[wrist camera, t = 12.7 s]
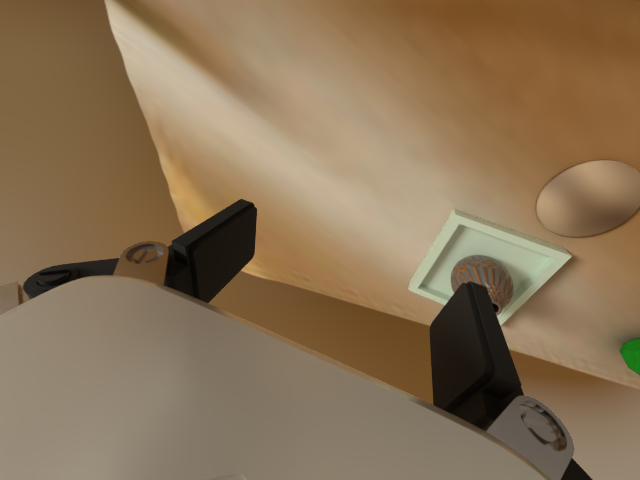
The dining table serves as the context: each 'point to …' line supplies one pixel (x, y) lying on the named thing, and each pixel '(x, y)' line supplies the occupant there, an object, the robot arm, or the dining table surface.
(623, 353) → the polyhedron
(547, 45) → the dining table surface
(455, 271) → the vase
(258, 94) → the dining table surface
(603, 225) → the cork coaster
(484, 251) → the tray
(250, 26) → the dining table surface
